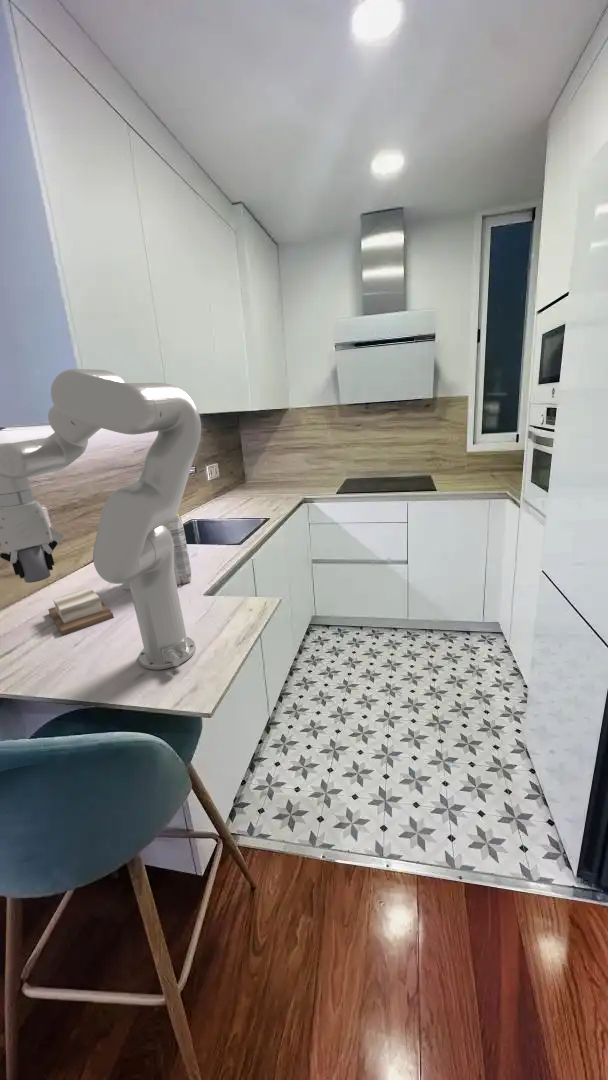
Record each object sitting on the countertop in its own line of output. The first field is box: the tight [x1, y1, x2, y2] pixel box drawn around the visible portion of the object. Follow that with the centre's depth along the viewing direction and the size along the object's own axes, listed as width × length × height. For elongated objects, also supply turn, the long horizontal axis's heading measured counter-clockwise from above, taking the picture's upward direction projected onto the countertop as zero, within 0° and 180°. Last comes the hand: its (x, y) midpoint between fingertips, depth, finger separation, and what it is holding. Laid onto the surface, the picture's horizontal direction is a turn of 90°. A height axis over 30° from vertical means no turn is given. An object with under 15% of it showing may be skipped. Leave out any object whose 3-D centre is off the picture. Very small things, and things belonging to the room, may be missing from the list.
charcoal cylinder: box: [17, 545, 51, 584], centre depth 104 cm, size 6×6×8 cm
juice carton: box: [164, 511, 192, 586], centre depth 140 cm, size 9×8×24 cm
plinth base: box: [47, 587, 114, 636], centre depth 124 cm, size 18×13×6 cm
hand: (36, 572), depth 105 cm, fingers closed on charcoal cylinder, 5 cm apart
